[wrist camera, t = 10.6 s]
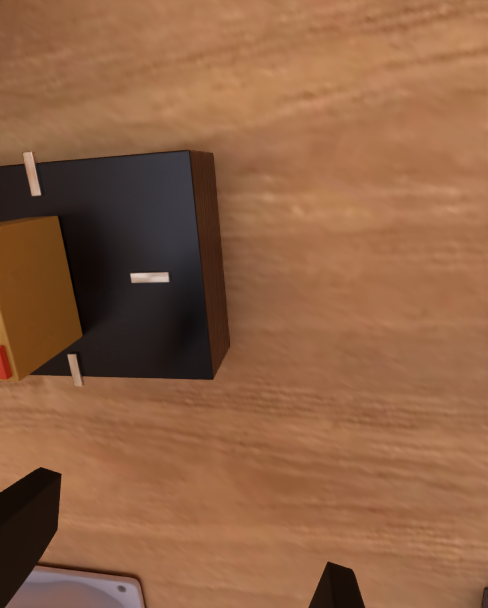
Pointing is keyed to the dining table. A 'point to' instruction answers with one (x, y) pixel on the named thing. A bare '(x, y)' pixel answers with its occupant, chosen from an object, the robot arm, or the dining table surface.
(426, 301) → the dining table surface
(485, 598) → the block
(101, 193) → the plate
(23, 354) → the lock knob
